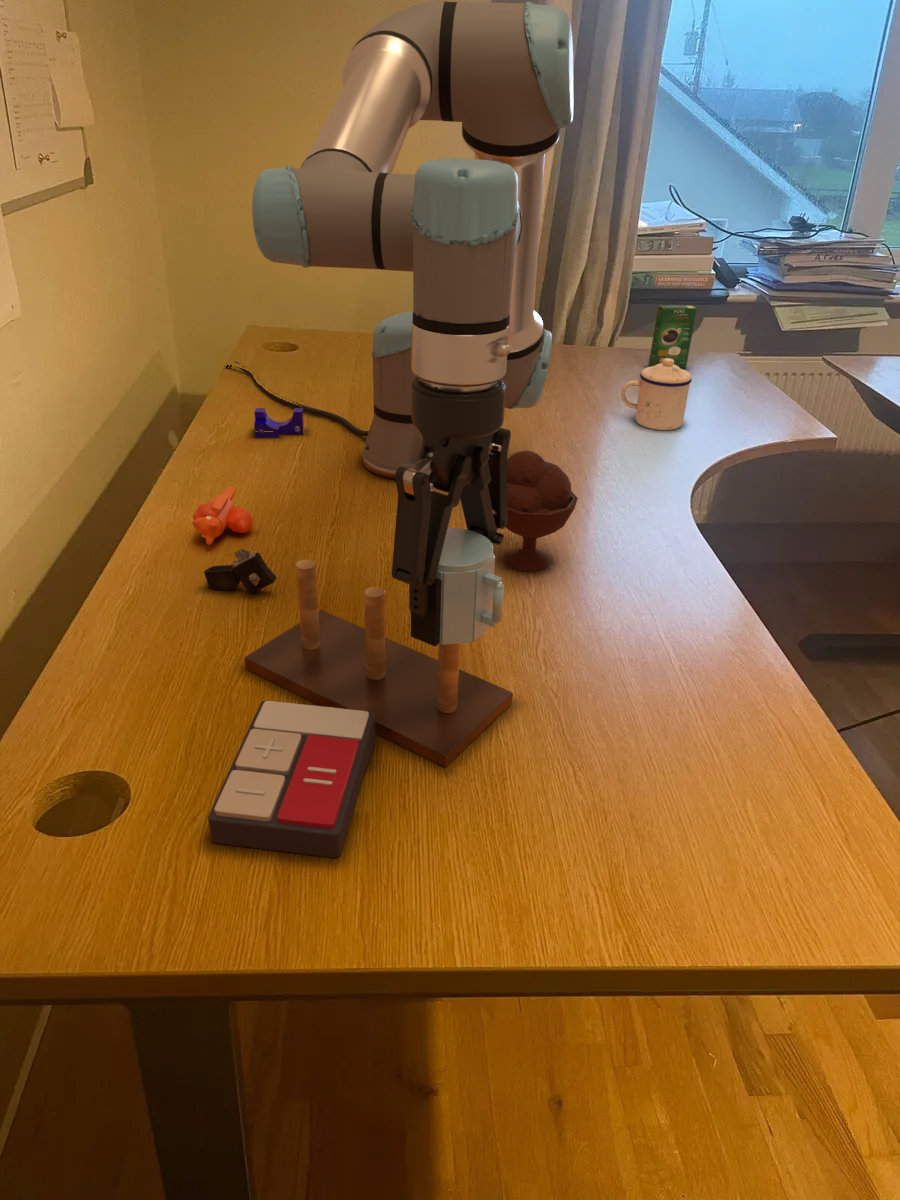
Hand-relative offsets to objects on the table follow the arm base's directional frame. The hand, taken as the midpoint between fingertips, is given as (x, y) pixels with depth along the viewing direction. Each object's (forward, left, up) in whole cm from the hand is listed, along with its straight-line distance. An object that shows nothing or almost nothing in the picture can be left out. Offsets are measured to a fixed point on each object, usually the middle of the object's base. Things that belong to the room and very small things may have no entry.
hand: (450, 620), depth 82 cm
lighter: (-34, +5, -12) cm, 36 cm away
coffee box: (-30, +127, -12) cm, 131 cm away
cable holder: (-67, +46, -12) cm, 82 cm away
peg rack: (-9, 0, -12) cm, 15 cm away
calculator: (-5, -16, -12) cm, 21 cm away
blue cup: (0, 0, 0) cm, 0 cm away
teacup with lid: (-19, +93, -12) cm, 96 cm away
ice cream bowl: (-10, +33, -12) cm, 37 cm away
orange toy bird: (-47, +15, -12) cm, 51 cm away
